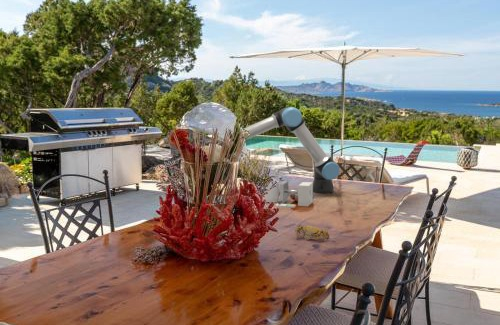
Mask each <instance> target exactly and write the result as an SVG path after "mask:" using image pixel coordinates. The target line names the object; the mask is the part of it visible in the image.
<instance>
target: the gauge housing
mask: <svg viewBox="0 0 500 325" xmlns="http://www.w3.org/2000/svg"><path fill="white" fill-rule="evenodd" d="M297 190H298V193H297V205H296V203H295V204H293V203H292V204H291V203H283V204H278V202H276V204H275V205H274V206H275V207H276V208H288V209H294V208H295V207H297V206H299V207H309V206H310V205H311V204H312V203H313V193H314V192H313V181H311V182H310V181H302V182H300V184H298V188H297ZM275 207H274V208H275Z"/></svg>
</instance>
